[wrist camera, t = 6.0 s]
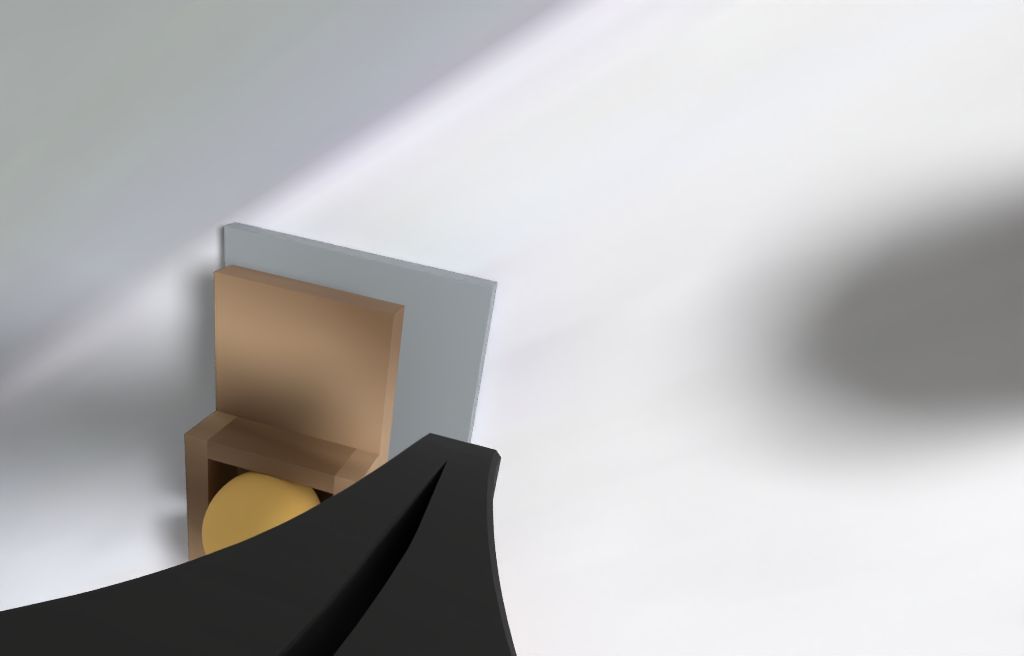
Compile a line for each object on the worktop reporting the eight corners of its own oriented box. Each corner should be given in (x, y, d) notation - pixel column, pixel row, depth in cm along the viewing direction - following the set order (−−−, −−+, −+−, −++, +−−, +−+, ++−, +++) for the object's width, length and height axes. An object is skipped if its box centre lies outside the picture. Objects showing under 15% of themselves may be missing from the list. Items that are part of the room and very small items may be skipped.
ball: (305, 610, 18) (274, 586, 15) (205, 580, 19) (157, 551, 16) (350, 505, 20) (328, 467, 17) (257, 478, 20) (221, 438, 18)
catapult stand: (442, 610, 25) (404, 705, 21) (236, 549, 26) (165, 628, 22) (497, 282, 20) (460, 329, 16) (235, 222, 21) (141, 253, 17)
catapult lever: (371, 661, 23) (340, 725, 20) (229, 616, 23) (183, 674, 21) (413, 305, 17) (377, 338, 15) (227, 261, 18) (166, 287, 16)
